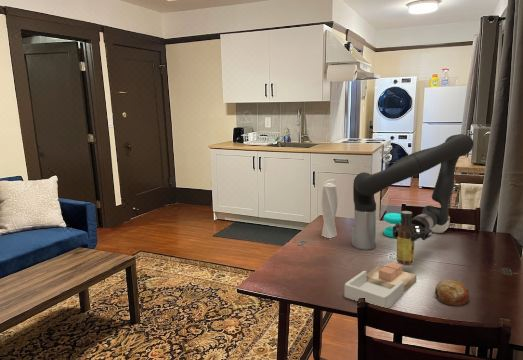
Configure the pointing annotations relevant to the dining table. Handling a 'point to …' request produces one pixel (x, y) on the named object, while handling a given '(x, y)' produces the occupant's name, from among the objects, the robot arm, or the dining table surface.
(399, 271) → the tan block
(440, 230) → the lidded jar
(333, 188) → the skyscraper
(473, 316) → the dining table surface
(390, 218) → the teal rounded shape
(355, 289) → the box
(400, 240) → the sauce bottle
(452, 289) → the bread roll
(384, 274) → the tile
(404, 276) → the board
